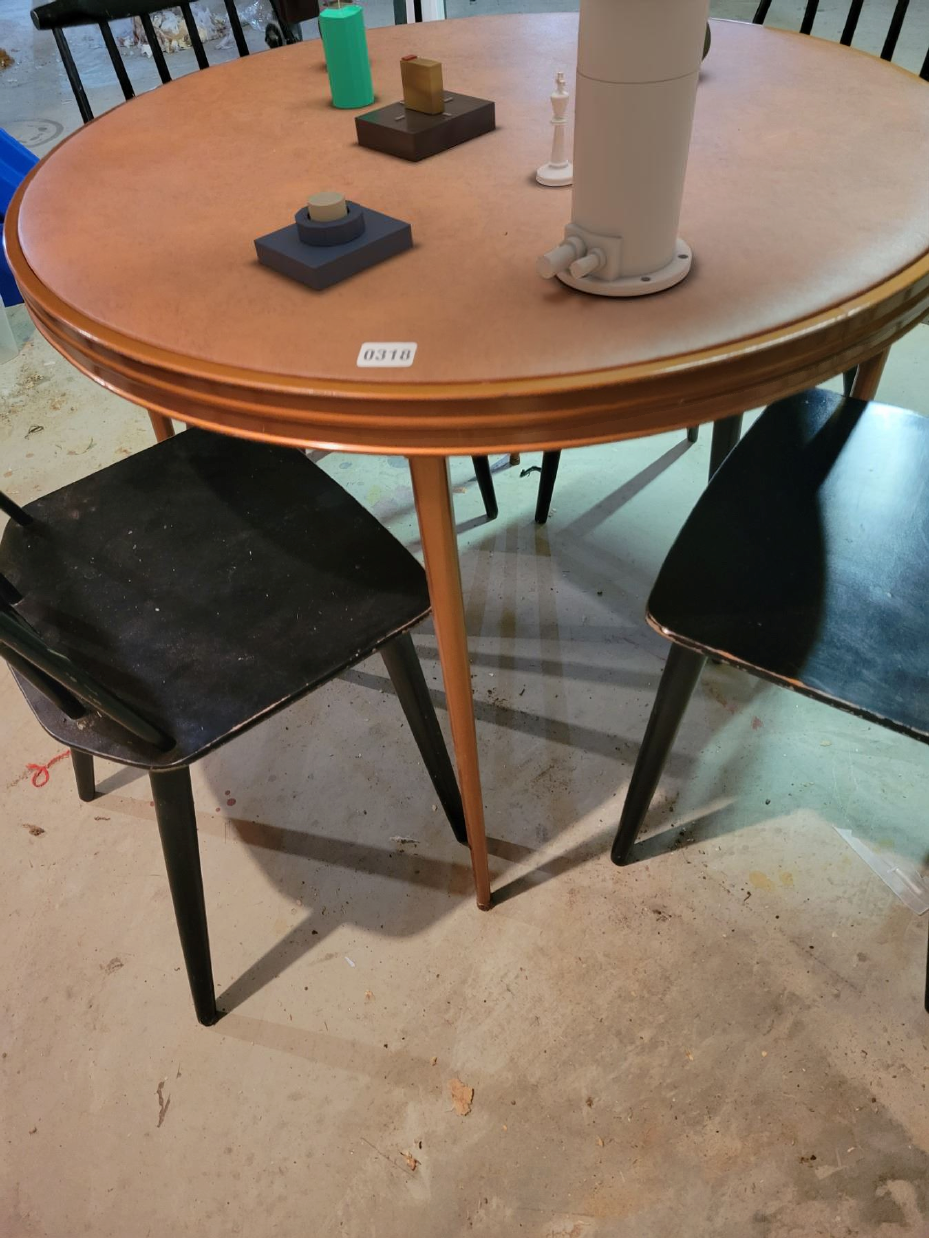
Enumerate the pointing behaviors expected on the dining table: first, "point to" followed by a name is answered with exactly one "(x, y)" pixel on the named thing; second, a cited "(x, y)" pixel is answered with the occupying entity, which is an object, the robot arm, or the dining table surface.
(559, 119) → the chess piece
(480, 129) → the plate
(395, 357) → the dining table surface
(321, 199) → the bell button
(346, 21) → the candle
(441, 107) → the lock knob
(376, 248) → the button base
